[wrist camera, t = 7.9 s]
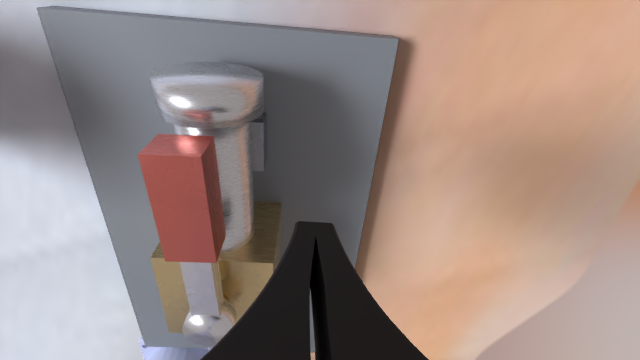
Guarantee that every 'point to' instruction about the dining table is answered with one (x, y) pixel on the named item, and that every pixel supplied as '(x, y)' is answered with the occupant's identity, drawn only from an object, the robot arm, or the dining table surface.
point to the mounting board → (279, 103)
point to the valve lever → (190, 226)
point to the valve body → (222, 177)
